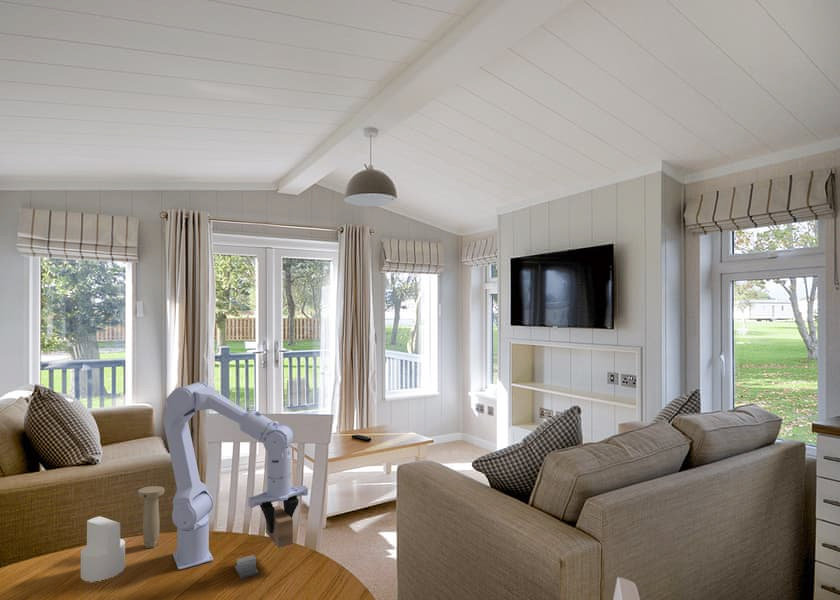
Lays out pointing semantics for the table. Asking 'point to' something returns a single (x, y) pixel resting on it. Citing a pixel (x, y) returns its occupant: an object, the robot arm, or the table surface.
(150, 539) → the handle
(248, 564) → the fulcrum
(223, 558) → the table surface
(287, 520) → the rectangular block
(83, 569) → the cylinder with rectangular tab
